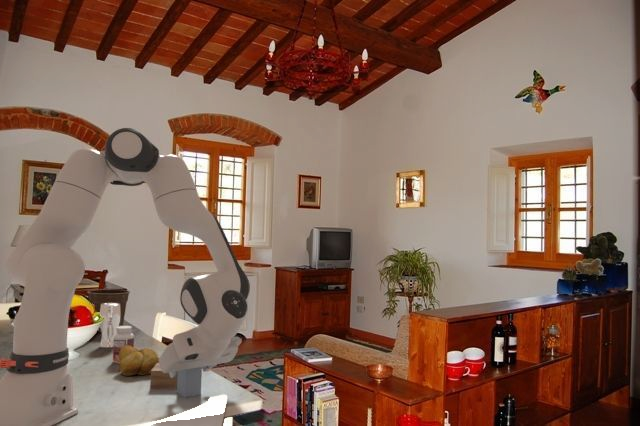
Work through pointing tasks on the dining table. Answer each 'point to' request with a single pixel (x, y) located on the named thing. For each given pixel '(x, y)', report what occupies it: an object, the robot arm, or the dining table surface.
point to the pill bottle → (122, 341)
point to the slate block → (189, 382)
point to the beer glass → (109, 323)
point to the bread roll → (137, 360)
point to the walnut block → (162, 379)
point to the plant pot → (110, 300)
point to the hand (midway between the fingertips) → (189, 372)
